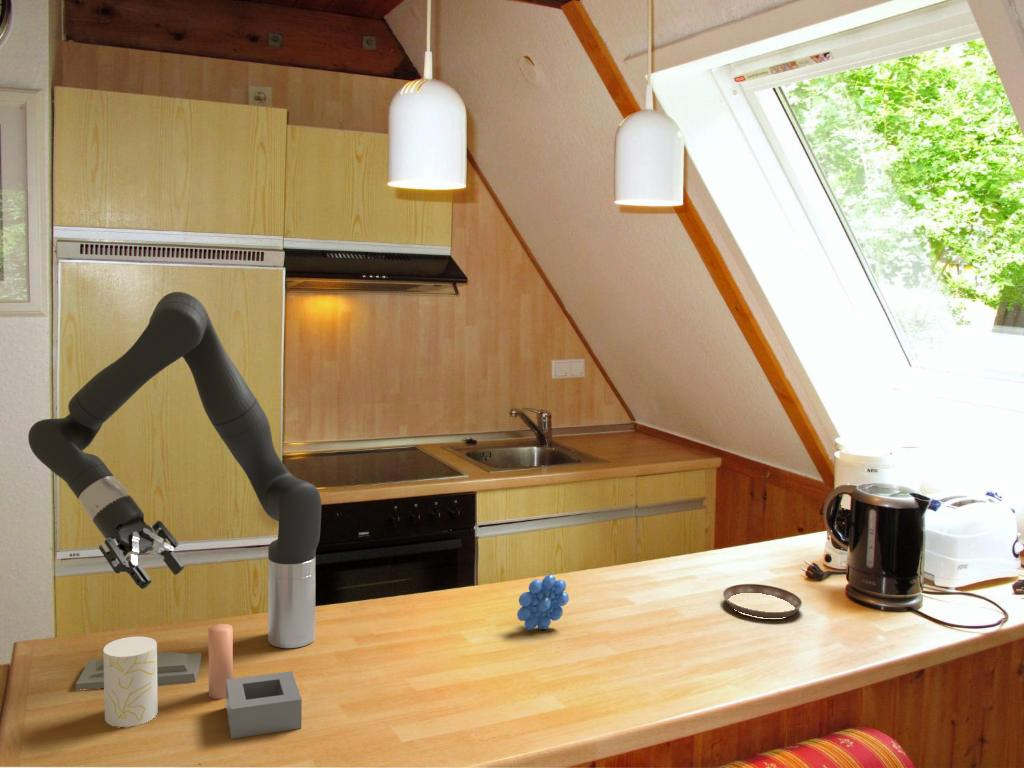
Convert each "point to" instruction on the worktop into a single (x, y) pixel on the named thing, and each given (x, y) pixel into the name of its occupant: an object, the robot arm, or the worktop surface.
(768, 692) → the worktop surface
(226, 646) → the peg
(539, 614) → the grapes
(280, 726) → the socket block
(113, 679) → the white patterned cylinder
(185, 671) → the soap mold
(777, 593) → the dark grey ring
